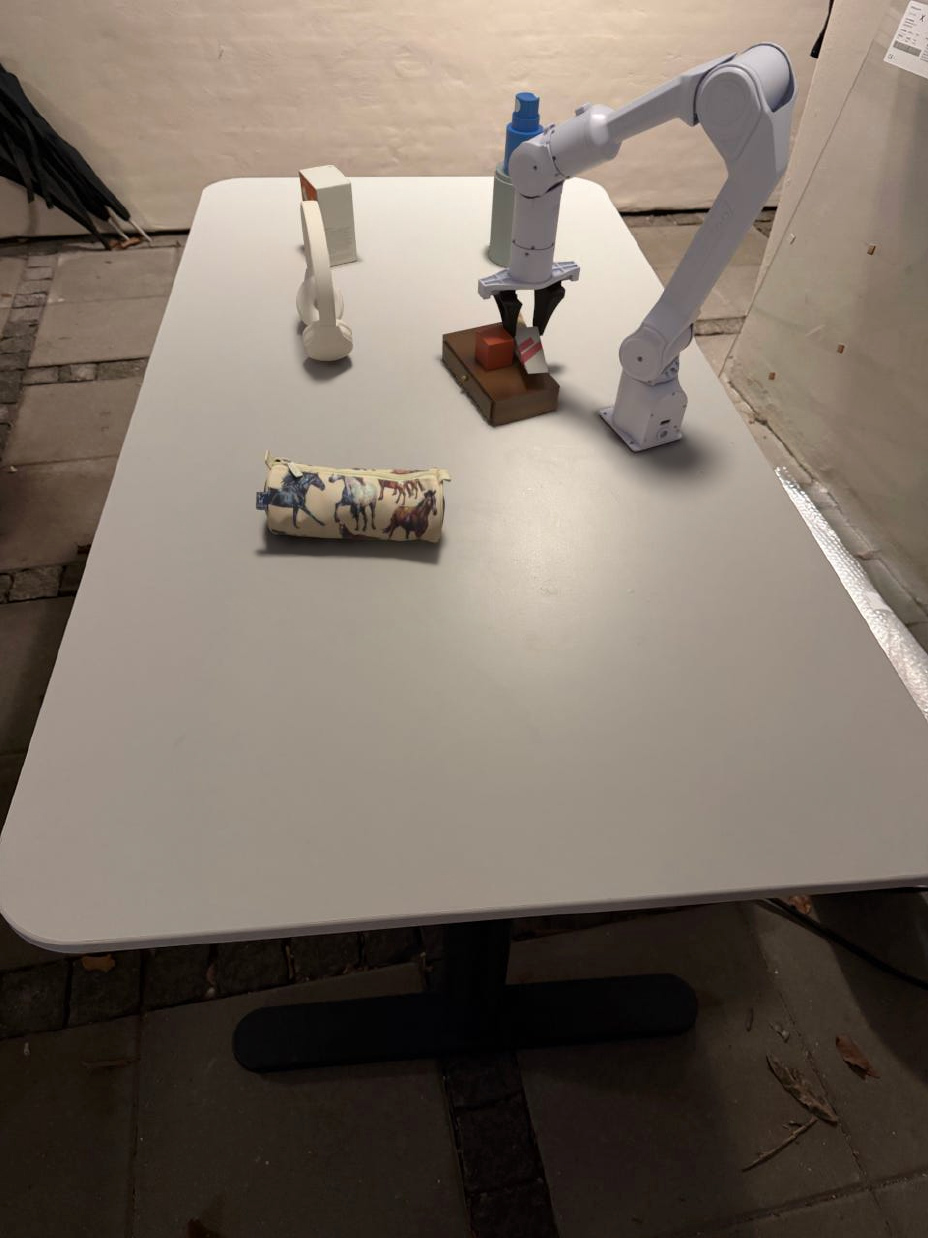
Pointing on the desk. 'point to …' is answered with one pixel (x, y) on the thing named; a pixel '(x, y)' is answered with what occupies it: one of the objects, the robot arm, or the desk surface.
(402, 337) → the desk surface
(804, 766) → the desk surface
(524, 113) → the spray bottle
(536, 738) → the desk surface
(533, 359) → the paintbrush
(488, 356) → the block
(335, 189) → the small box
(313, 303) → the headphones
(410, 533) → the pencil case
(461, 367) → the cabinet
